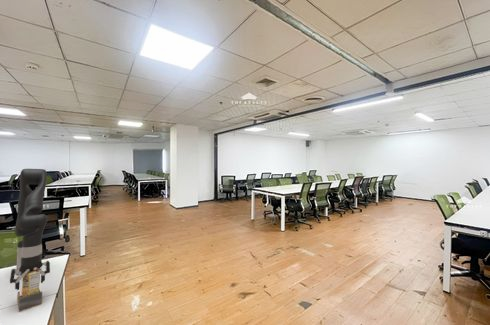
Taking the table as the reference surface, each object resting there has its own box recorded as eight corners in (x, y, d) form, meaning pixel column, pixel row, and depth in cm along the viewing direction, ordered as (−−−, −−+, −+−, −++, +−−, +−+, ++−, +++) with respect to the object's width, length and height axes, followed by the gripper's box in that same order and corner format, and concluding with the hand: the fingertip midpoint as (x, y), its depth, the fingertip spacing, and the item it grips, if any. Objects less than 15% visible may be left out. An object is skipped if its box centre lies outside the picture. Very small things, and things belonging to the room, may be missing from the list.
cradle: (17, 298, 110) (17, 287, 110) (38, 292, 116) (38, 281, 116) (19, 311, 100) (19, 299, 100) (41, 304, 106) (42, 292, 106)
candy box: (20, 300, 107) (22, 270, 107) (31, 295, 111) (33, 266, 111) (27, 305, 103) (29, 274, 103) (39, 300, 107) (40, 270, 107)
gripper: (49, 248, 115) (48, 277, 115) (10, 256, 104) (9, 288, 104) (51, 251, 110) (50, 282, 110) (11, 260, 99) (9, 295, 99)
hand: (30, 285), depth 107 cm, fingers open, 8 cm apart
